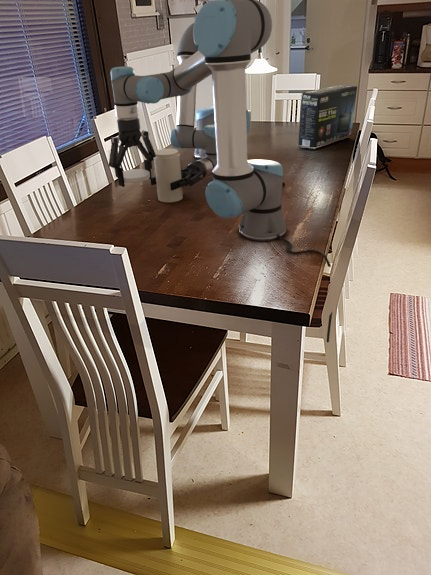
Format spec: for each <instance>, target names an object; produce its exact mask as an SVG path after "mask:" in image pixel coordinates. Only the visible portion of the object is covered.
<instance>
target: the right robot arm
mask: <svg viewBox="0 0 431 575" xmlns="http://www.w3.org/2000/svg"><path fill="white" fill-rule="evenodd" d="M193 23H194V28H193V37H194V42H195V45H196V47H198V50H199V51H197V52H196V53H195V54H193V55H192V56H191V57H189V58H188V59H186V60H185V61H184V62H182V63H181V64H180V65H179V64H177V66H175V67H174V68H173V69H171V70H170V71H166V72H161V73H155V74H147V75H136V74H135V68H133V67H132V66H116V67H115V66H114V67H112V68H111V69H110V83H111V90H112V96H113V103H114V111H115V117H116V126H117V132H118V136H111V137H110V142H111V143H110V144H111V146H110V153H109V160H108V167H110V168H112V169H114V173H115V177H116V178H117V182H118V186H120V187H122V188H125V187H126V185H125V182H124V176H123V171H124V170H123V167H121V166H122V164H123V160H124V158H125V155H126V152H127V151H128V149H129V148H132V147H136V148H137V149H138V150H139V152H140V153H141V154H142V156H143V157H144V158H145V159H144V160H143V165H144V170H148V171H149V172H150V178H149V179H148V180H151V179H152V178H153V177H152V170H153V162H154V158H155V157H156V154H155V149H154V147H153V144H152V142H151V140H150V134H149V131H147V130H141V121H140V118H139V116H140V114H139V103H143V104H147V105H149V104H154V105H155V104H158V103H159V102H160V101H161V100H165V99H170V98H177V97H178V96H183V95H185V94H188V93H189V92H190V91H191V89H192V87H193V86H194V85H196V84H197V85H198V84H199V83H201V82H202V81H204V80H206V79H207V78H208V77H210V76H211V82H212V83H211V84H212V100H213V101H212V102H213V106H214V118H215V134H216V150H217V165H216V166H215V167H214V169H213V170H212V172H213V174H212V181H210V182H209V183H208V184H207V186H206V187H205V199H206V202H207V204H208V206H209V208H210V209H211V210H212V211H213V213H214V214H215V215H217V217H219V218H221V219H225V220H230V219H233V218H238V217H240V216H241V220H240V222H239V223H238V232H239V235H240V236H241V237H242V238H244V239H247V240H250V241H254V242H271V241H277V240H279V239H280V240H282V241H283V242H285V243H286V244H287V245H288V247H287V248H286V251H287V253H289V254H291V255H301V254H306V253H315V254H319V255H321V256H322V257H323V258H324V260H325V263H326V265H327V267H328V268H331V266H332V265H331V263H330V261H329V259H328V256H327V255H326V253H324V252H323V251H320V250H317V249H304V250H299V251H298V250H297V251H295V250H291V248H292V243H291V242H290V241H289V240H287V239H286V238H284V237H285V235H286V234H287V223H286V221H285V216H284V214H283V210H282V200H283V187H282V182H284V180H283V179H284V169H283V165H282V164H281V163H280V162H278V161H274V160H270V159H249V158H248V156H249V155H248V154H249V153H248V134H247V118H246V110H247V88H246V84H247V83H246V68H247V66H249V64H250V63H251V61H252V54H253V53H255V52H256V51H258V50H260V49H261V48H263V47H264V46H265V45H266V44H267V42H268V41H269V40H270V38H271V35H272V32H273V19H272V15H271V13H270V11H269V9H268V8H267V6H266V5H265V4H264V3H263V2H261V1H259V0H210V1H208V2H206V3H204V4H203V5H202V6H201V7H200V9H199V12H198V13H197V14H196V16H195V18H194V22H193ZM138 102H139V103H138ZM141 138H142V141H143V143H144V145H143V143H142V141H141V140H140V139H141ZM332 318H333V311H331V313H330V314H329V315H328V324H327V332H326V343H330V335H331V325H332V320H333V319H332Z"/></svg>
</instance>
